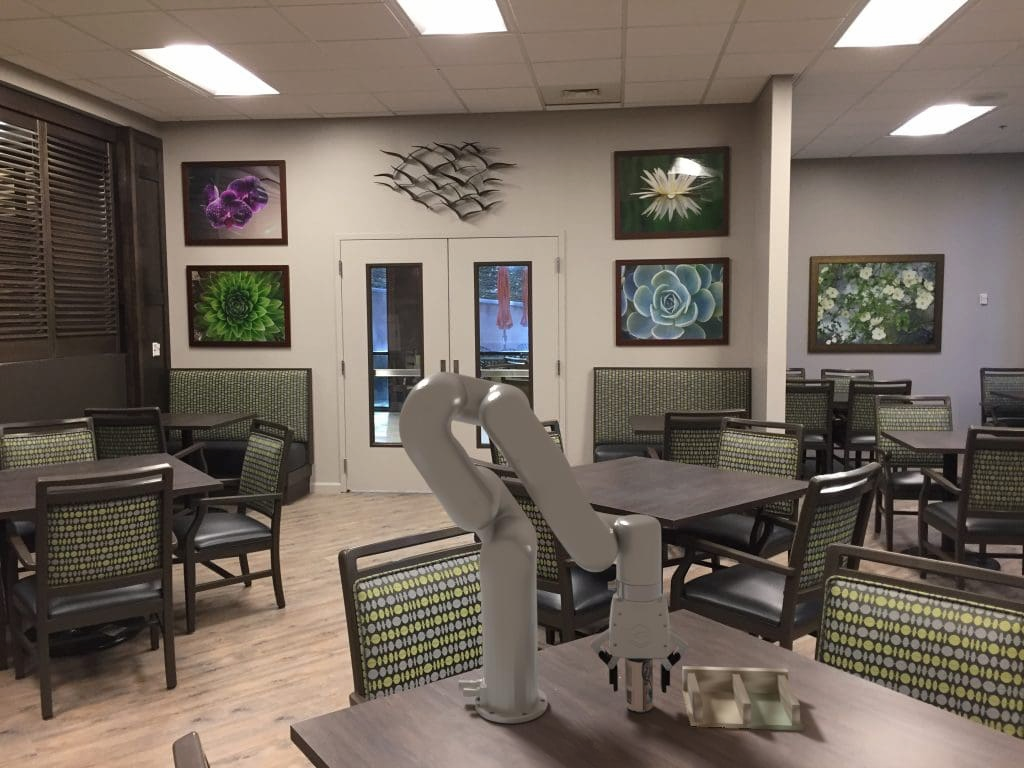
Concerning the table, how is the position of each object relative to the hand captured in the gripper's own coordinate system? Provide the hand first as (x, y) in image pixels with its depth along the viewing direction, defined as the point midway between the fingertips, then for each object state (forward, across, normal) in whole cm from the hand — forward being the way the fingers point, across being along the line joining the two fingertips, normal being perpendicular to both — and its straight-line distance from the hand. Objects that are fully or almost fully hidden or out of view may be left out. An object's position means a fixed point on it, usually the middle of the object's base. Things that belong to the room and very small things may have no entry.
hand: (639, 687), depth 139 cm
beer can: (+4, 0, 0) cm, 4 cm away
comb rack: (+3, +17, 0) cm, 17 cm away
